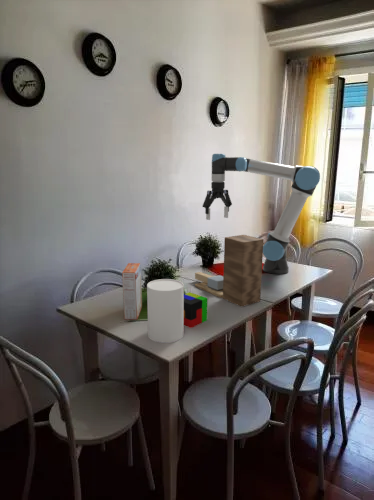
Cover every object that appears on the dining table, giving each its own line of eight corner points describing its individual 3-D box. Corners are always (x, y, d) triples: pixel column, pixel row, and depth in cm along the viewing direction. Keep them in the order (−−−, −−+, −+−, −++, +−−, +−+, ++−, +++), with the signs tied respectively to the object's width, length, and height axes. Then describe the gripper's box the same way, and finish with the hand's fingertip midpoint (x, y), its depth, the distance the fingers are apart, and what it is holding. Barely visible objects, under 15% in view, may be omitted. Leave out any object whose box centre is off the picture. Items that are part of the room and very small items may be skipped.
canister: (175, 345, 136) (175, 292, 131) (141, 339, 140) (140, 288, 136) (188, 329, 148) (188, 281, 143) (157, 324, 153) (156, 277, 148)
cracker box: (129, 307, 170) (127, 262, 166) (142, 307, 170) (141, 262, 165) (123, 320, 157) (121, 271, 152) (137, 320, 157) (136, 271, 152)
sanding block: (203, 278, 210) (203, 269, 209) (229, 288, 192) (229, 278, 191) (191, 281, 205) (191, 272, 204) (217, 291, 188) (217, 281, 187)
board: (214, 281, 206) (214, 279, 206) (240, 292, 190) (240, 290, 189) (194, 286, 199) (194, 283, 199) (220, 298, 182) (220, 295, 182)
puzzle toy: (173, 321, 156) (172, 298, 154) (189, 314, 163) (189, 292, 161) (190, 328, 150) (191, 304, 147) (207, 320, 157) (207, 298, 155)
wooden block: (241, 293, 189) (243, 234, 182) (260, 301, 178) (263, 239, 171) (222, 298, 182) (224, 237, 175) (241, 306, 172) (244, 242, 164)
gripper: (230, 180, 225) (229, 216, 230) (196, 181, 211) (196, 219, 215) (238, 181, 219) (237, 217, 224) (204, 182, 205) (204, 221, 210)
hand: (217, 218), depth 220 cm, fingers open, 13 cm apart
